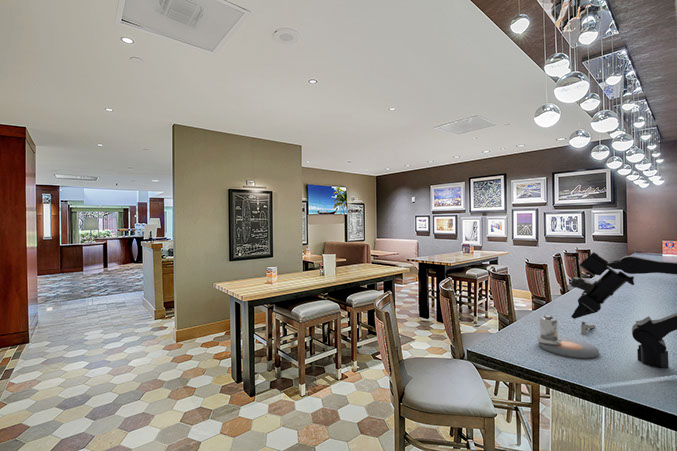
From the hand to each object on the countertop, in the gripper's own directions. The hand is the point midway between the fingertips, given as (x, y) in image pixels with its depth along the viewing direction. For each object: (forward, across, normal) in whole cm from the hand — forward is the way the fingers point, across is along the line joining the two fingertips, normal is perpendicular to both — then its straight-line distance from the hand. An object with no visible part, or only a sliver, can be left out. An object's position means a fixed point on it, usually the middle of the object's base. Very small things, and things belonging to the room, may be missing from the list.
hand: (574, 315), depth 116 cm
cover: (+14, +3, +1) cm, 14 cm away
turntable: (+11, +2, +6) cm, 13 cm away
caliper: (+10, -32, +10) cm, 35 cm away
